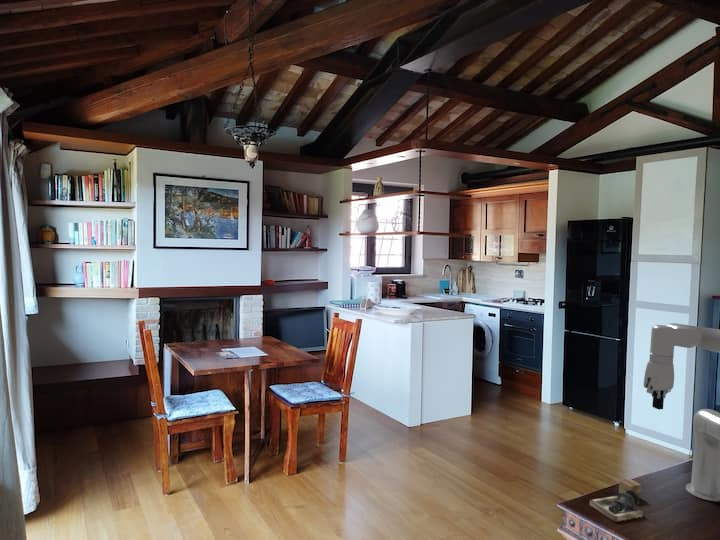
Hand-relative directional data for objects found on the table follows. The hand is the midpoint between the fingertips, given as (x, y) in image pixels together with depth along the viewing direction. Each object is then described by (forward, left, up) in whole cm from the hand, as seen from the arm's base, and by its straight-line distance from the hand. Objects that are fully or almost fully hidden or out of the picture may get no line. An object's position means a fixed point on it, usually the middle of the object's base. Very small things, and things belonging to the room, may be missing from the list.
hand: (657, 408), depth 193 cm
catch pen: (+24, +7, -32) cm, 41 cm away
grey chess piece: (+17, +7, -28) cm, 34 cm away
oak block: (+10, 0, -32) cm, 34 cm away
